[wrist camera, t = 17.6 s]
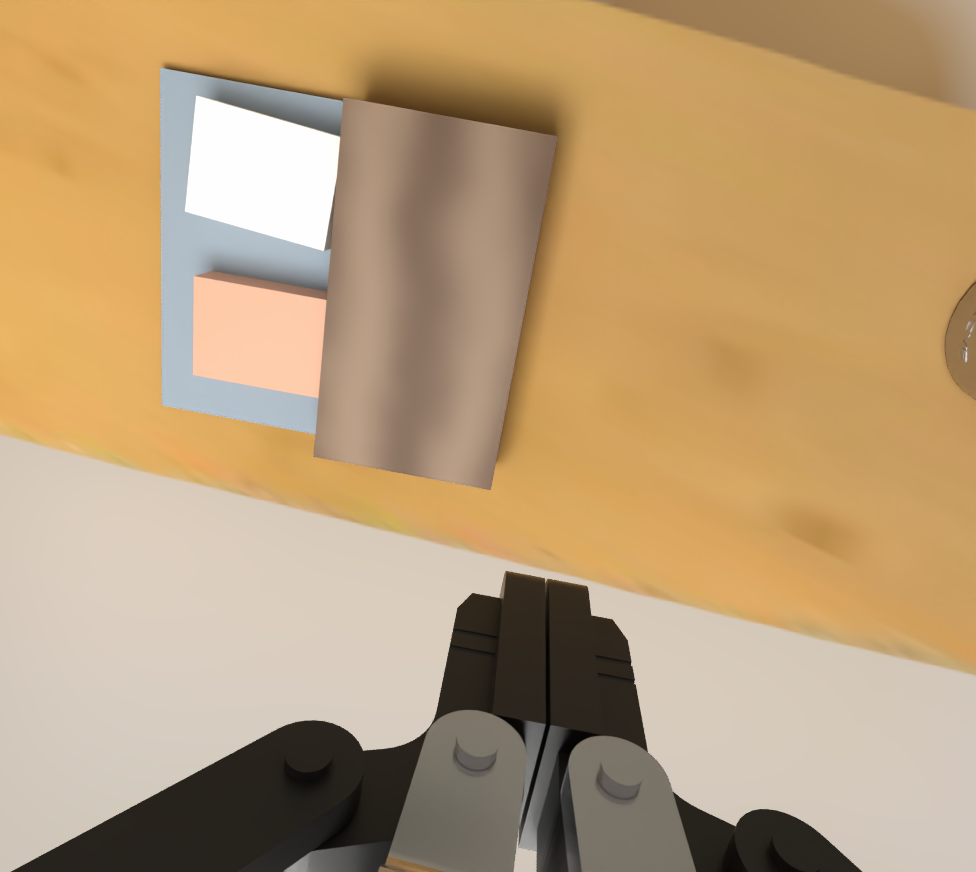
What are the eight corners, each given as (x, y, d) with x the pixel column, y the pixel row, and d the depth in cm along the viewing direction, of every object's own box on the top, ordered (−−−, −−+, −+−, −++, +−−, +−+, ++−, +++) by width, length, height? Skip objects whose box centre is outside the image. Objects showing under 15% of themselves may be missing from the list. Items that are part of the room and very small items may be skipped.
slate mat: (357, 104, 38) (355, 103, 37) (328, 432, 45) (325, 436, 45) (165, 69, 38) (160, 67, 38) (166, 402, 45) (162, 405, 45)
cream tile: (355, 140, 38) (343, 137, 36) (336, 246, 40) (323, 251, 38) (216, 100, 38) (196, 95, 36) (205, 209, 40) (185, 211, 38)
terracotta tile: (341, 294, 41) (329, 300, 39) (333, 387, 43) (322, 398, 41) (212, 270, 41) (193, 276, 39) (211, 364, 43) (192, 375, 41)
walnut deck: (556, 140, 38) (558, 136, 34) (495, 464, 45) (490, 490, 41) (363, 105, 38) (343, 97, 34) (332, 433, 45) (313, 456, 41)
